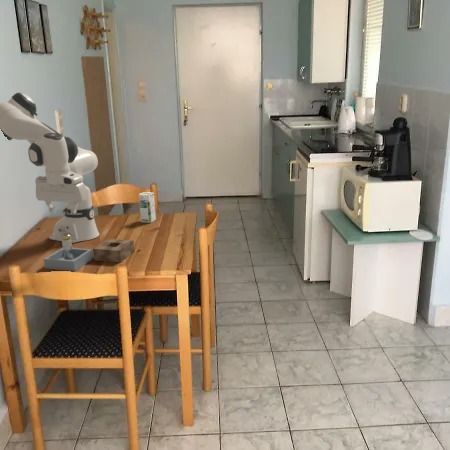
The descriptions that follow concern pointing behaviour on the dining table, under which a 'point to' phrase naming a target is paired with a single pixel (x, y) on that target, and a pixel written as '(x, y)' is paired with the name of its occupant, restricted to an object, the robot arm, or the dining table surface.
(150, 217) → the syrup box
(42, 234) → the dining table surface
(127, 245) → the walnut block
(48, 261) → the grey tray
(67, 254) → the metal pin
